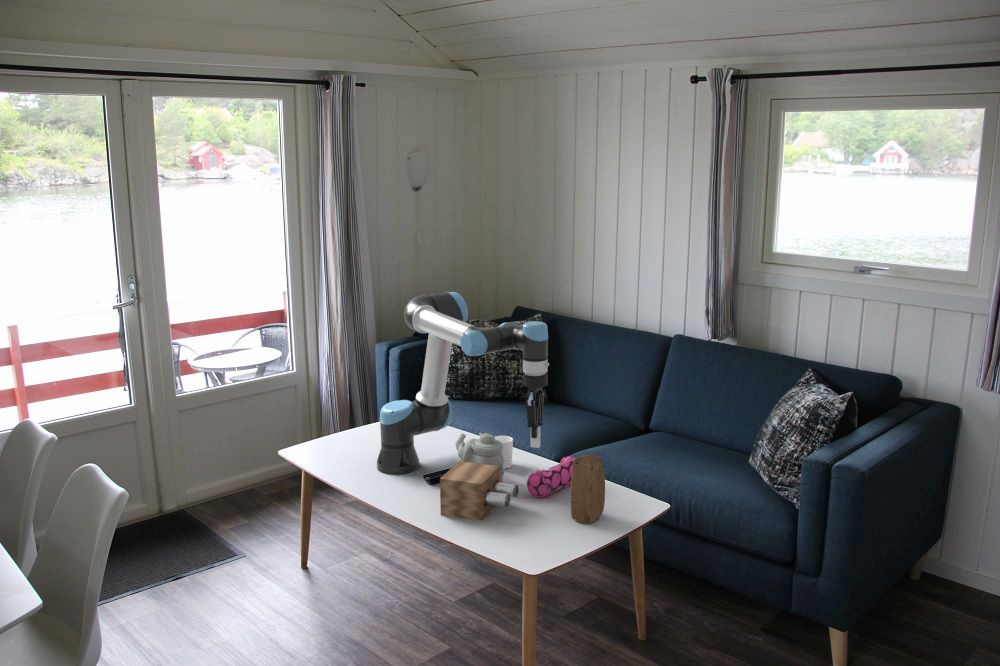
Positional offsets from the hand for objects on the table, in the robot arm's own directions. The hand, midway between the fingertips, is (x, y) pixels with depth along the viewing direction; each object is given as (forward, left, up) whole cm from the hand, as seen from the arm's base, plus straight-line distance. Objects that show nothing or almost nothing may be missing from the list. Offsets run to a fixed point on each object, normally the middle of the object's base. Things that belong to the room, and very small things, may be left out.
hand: (535, 446), depth 266 cm
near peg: (-13, -8, -17) cm, 23 cm away
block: (+17, +1, -22) cm, 27 cm away
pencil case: (+1, +20, -22) cm, 29 cm away
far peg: (-13, 0, -17) cm, 22 cm away
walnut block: (-20, -4, -21) cm, 30 cm away
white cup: (-23, +35, -22) cm, 47 cm away
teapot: (-25, +17, -22) cm, 37 cm away
